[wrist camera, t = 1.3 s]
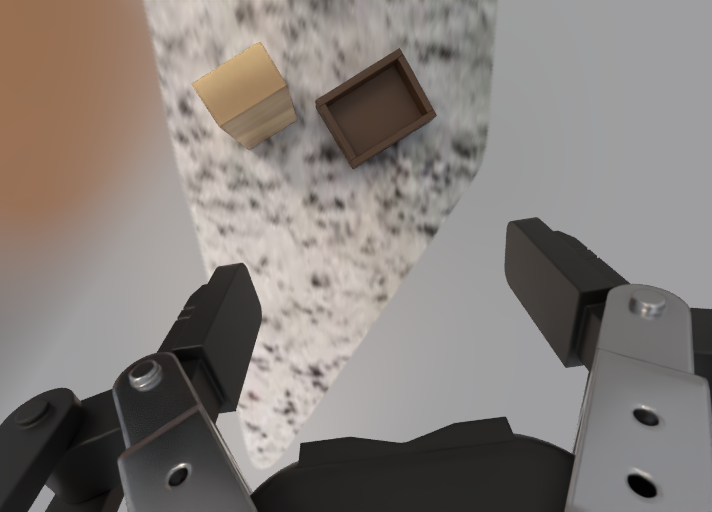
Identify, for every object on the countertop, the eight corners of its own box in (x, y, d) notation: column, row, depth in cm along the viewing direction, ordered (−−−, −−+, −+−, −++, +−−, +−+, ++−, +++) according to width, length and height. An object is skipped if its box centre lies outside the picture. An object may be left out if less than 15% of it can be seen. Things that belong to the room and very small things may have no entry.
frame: (315, 107, 32) (314, 100, 30) (395, 57, 32) (400, 47, 30) (352, 169, 33) (354, 167, 31) (430, 121, 33) (437, 115, 31)
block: (229, 119, 31) (190, 83, 22) (278, 88, 31) (260, 40, 22) (249, 150, 32) (219, 127, 23) (297, 119, 32) (286, 85, 23)
